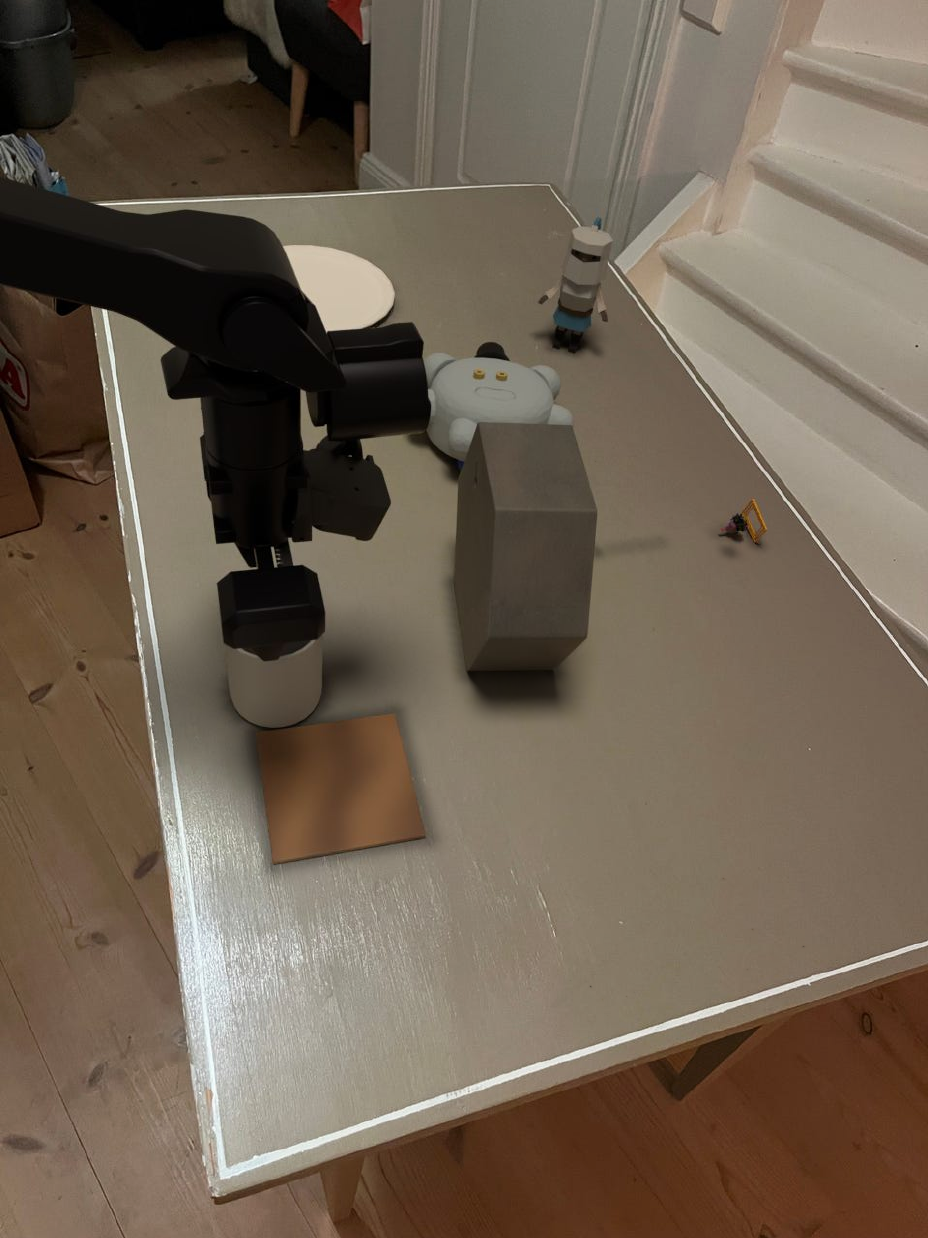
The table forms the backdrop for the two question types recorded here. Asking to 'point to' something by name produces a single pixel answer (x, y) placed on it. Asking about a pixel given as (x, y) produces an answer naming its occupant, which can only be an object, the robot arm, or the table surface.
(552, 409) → the figurine
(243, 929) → the table surface
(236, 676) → the cup
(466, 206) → the table surface
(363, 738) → the coaster
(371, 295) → the plate
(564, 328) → the toy
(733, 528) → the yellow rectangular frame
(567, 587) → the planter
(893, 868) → the table surface
